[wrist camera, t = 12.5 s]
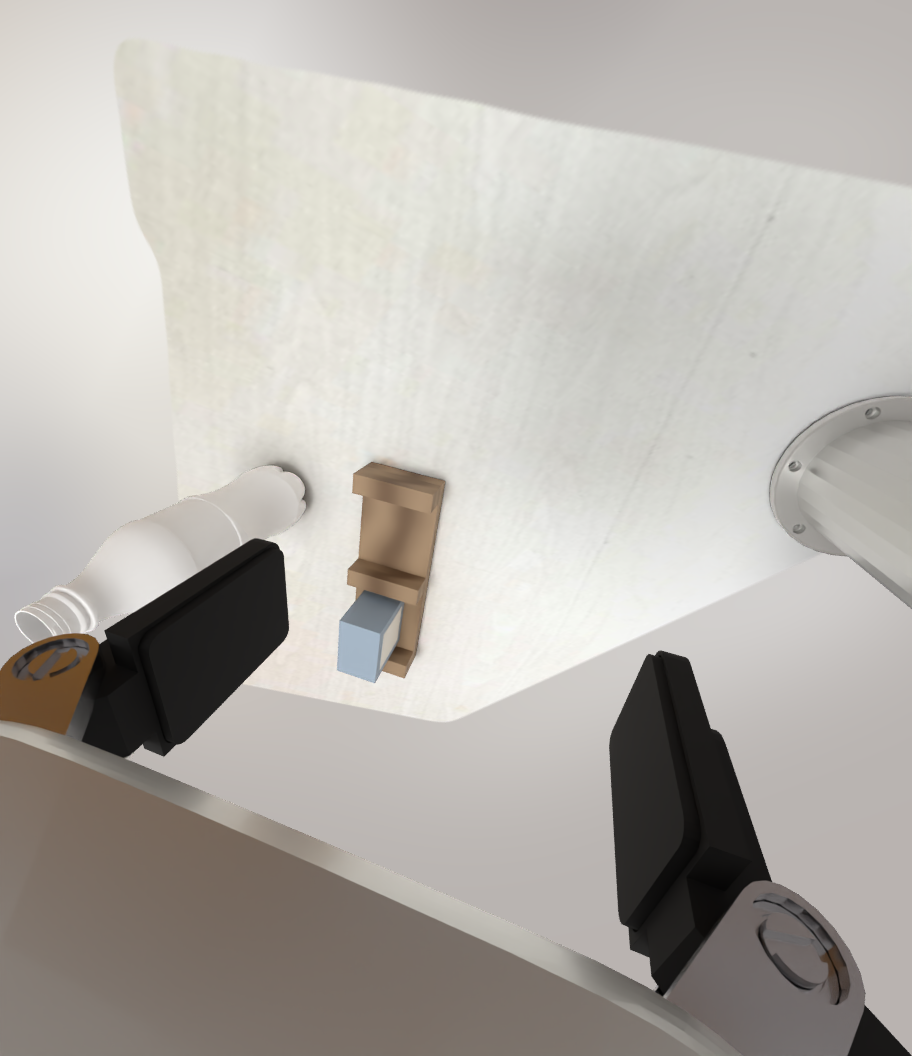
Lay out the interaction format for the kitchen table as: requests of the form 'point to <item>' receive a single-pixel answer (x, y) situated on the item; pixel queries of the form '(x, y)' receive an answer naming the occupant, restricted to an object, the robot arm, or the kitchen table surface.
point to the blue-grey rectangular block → (369, 635)
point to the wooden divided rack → (397, 546)
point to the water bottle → (167, 551)
